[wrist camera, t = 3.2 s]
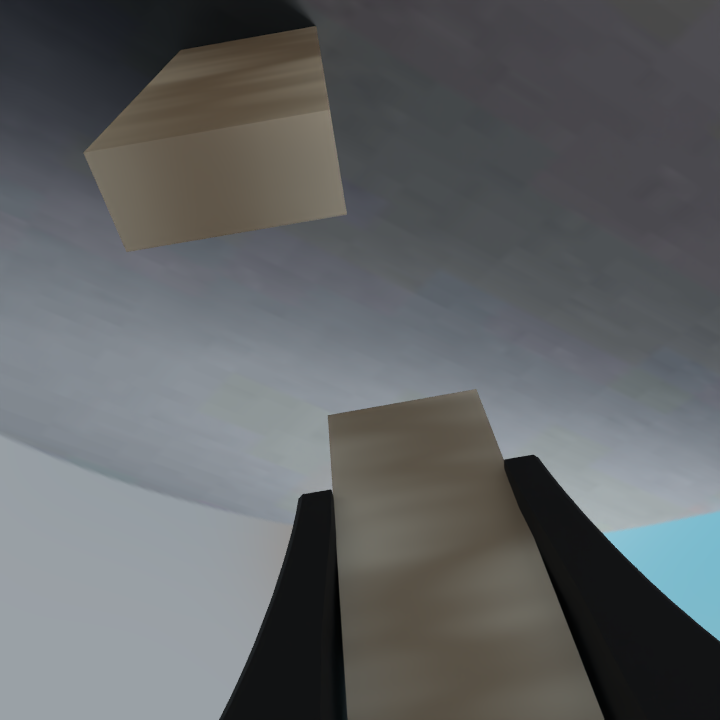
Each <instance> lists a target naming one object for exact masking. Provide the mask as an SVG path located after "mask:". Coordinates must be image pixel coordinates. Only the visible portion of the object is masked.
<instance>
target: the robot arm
mask: <svg viewBox="0 0 720 720" xmlns="http://www.w3.org/2000/svg"><path fill="white" fill-rule="evenodd" d="M504 470H505V472H506V475H507V478H508V480H509V483H510V485H511V488H512V491H513V493H514V496H515V499H516V501H517V504H518V506H519V509H520V511H521V513H522V515H523V517H524V519H525V521H526V523H527V525H528V527H529V529H530V531H531V533H532V535H533V537H534V539H535V542H536V544H537V547H538V550H539V552H540V555H541V557H542V560H543V563H544V565H545V568H546V570H547V573H548V575H549V578H550V581H551V583H552V586H553V588H554V591H555V593H556V596H557V599H558V601H559V604H560V606H561V609H562V611H563V614H564V617H565V619H566V622H567V624H568V627H569V629H570V632H571V635H572V637H573V640H574V642H575V645H576V648H577V650H578V653H579V655H580V658H581V660H582V663H583V666H584V668H585V671H586V673H587V676H588V678H589V681H590V684H591V686H592V689H593V691H594V694H595V696H596V699H597V702H598V704H599V707H600V709H601V712H602V715H603V717H604V720H720V641H719V640H717V639H716V638H715V637H714V636H712V635H711V634H710V633H709V632H707V631H706V630H705V629H704V628H703V627H701V626H700V625H699V624H698V623H696V622H695V621H694V620H693V619H692V618H691V617H690V616H688V615H687V614H686V613H685V612H684V611H683V610H681V609H680V608H679V607H678V606H677V605H675V603H673V602H672V601H671V600H670V599H669V598H668V597H667V596H666V595H665V594H663V593H662V592H661V591H660V590H659V589H658V588H657V587H656V586H655V585H653V583H651V582H650V581H649V580H648V579H647V578H646V577H645V576H644V575H643V574H642V573H641V572H640V571H639V570H638V569H637V568H636V567H635V566H634V565H633V564H632V563H631V562H630V561H629V560H628V559H627V558H626V557H625V556H624V555H623V554H622V553H621V552H620V551H619V550H618V549H617V548H615V546H614V545H613V544H612V543H611V542H610V541H609V540H608V539H607V538H606V537H605V536H604V535H603V533H602V532H601V531H600V530H599V529H598V528H597V527H596V526H595V525H594V524H593V523H592V522H591V521H590V520H589V518H588V517H587V516H586V515H585V514H584V513H583V512H582V511H581V510H580V508H579V507H578V506H577V505H576V504H575V503H574V501H573V500H572V499H571V498H570V497H569V496H568V494H567V493H566V492H565V491H564V490H563V489H562V487H561V486H560V485H559V484H558V482H557V481H556V480H555V479H554V477H553V476H552V475H551V474H550V472H549V471H548V470H547V469H546V467H545V466H544V465H543V463H542V462H541V461H540V459H539V458H538V457H536V456H535V455H529V456H523V457H517V458H511V459H505V460H504ZM219 720H348V717H347V702H346V686H345V671H344V656H343V640H342V625H341V609H340V594H339V578H338V563H337V547H336V525H335V509H334V497H333V494H332V490H326V491H320V492H314V493H308V494H303V495H302V496H301V497H300V498H299V499H298V505H297V511H296V516H295V520H294V525H293V529H292V534H291V537H290V541H289V544H288V548H287V551H286V555H285V558H284V562H283V565H282V568H281V571H280V575H279V577H278V580H277V584H276V587H275V590H274V593H273V596H272V598H271V602H270V604H269V607H268V609H267V612H266V615H265V617H264V620H263V623H262V625H261V628H260V630H259V633H258V636H257V638H256V641H255V643H254V646H253V648H252V651H251V653H250V655H249V657H248V660H247V662H246V665H245V667H244V669H243V671H242V673H241V676H240V678H239V680H238V682H237V684H236V686H235V689H234V691H233V693H232V695H231V697H230V699H229V701H228V703H227V705H226V707H225V709H224V711H223V713H222V715H221V717H220V719H219Z"/></svg>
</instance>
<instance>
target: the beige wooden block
mask: <svg viewBox="0 0 720 720" xmlns="http://www.w3.org/2000/svg"><path fill="white" fill-rule="evenodd" d="M84 155H85V157H86V160H87V162H88V164H89V166H90V169H91V171H92V173H93V176H94V178H95V180H96V183H97V185H98V187H99V189H100V192H101V194H102V196H103V199H104V201H105V203H106V206H107V208H108V210H109V212H110V215H111V217H112V219H113V222H114V224H115V226H116V228H117V231H118V233H119V235H120V238H121V240H122V242H123V245H124V247H125V249H126V251H127V252H129V251H135V250H141V249H147V248H153V247H159V246H165V245H170V244H176V243H182V242H188V241H194V240H200V239H206V238H211V237H217V236H223V235H229V234H235V233H241V232H247V231H253V230H258V229H264V228H270V227H276V226H282V225H288V224H294V223H299V222H305V221H311V220H317V219H323V218H329V217H335V216H341V215H346V214H347V213H346V206H345V200H344V194H343V188H342V182H341V176H340V170H339V163H338V157H337V151H336V145H335V139H334V133H333V127H332V120H331V114H330V108H329V102H328V96H327V90H326V84H325V78H324V72H323V66H322V60H321V54H320V47H319V41H318V35H317V29H316V26H313V27H308V28H302V29H296V30H291V31H285V32H280V33H274V34H268V35H263V36H257V37H251V38H246V39H240V40H234V41H229V42H223V43H217V44H212V45H206V46H201V47H195V48H189V49H184V50H180V51H179V52H178V53H177V54H176V55H175V57H174V58H173V59H172V60H171V61H170V62H169V63H168V64H167V65H166V66H165V67H164V68H163V69H162V70H161V71H160V72H159V73H158V74H157V76H156V77H155V78H154V79H153V80H152V81H151V82H150V83H149V84H148V85H147V86H146V87H145V88H144V89H143V90H142V91H141V92H140V93H139V95H138V96H137V97H136V98H135V99H134V100H133V101H132V102H131V103H130V104H129V105H128V106H127V107H126V108H125V109H124V110H123V111H122V112H121V114H120V115H119V116H118V117H117V118H116V119H115V120H114V121H113V122H112V123H111V124H110V125H109V126H108V127H107V128H106V129H105V130H104V131H103V133H102V134H101V135H100V136H99V137H98V138H97V139H96V140H95V141H94V142H93V143H92V144H91V145H90V146H89V147H88V148H87V149H86V150H85V152H84Z"/></svg>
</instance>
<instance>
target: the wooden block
mask: <svg viewBox="0 0 720 720" xmlns="http://www.w3.org/2000/svg"><path fill="white" fill-rule="evenodd" d="M328 424H329V439H330V455H331V470H332V486H333V497H334V509H335V525H336V547H337V563H338V578H339V594H340V609H341V625H342V640H343V656H344V671H345V686H346V702H347V717H348V720H604V717H603V715H602V712H601V709H600V707H599V704H598V702H597V699H596V696H595V694H594V691H593V689H592V686H591V684H590V681H589V678H588V676H587V673H586V671H585V668H584V666H583V663H582V660H581V658H580V655H579V653H578V650H577V648H576V645H575V642H574V640H573V637H572V635H571V632H570V629H569V627H568V624H567V622H566V619H565V617H564V614H563V611H562V609H561V606H560V604H559V601H558V599H557V596H556V593H555V591H554V588H553V586H552V583H551V581H550V578H549V575H548V573H547V570H546V568H545V565H544V563H543V560H542V557H541V555H540V552H539V550H538V547H537V544H536V542H535V539H534V537H533V535H532V533H531V531H530V529H529V527H528V525H527V523H526V521H525V519H524V517H523V515H522V513H521V511H520V509H519V506H518V504H517V501H516V499H515V496H514V493H513V491H512V488H511V485H510V483H509V480H508V478H507V475H506V472H505V470H504V459H503V457H502V454H501V452H500V449H499V447H498V444H497V441H496V439H495V436H494V434H493V431H492V429H491V426H490V423H489V421H488V418H487V416H486V413H485V411H484V408H483V405H482V403H481V400H480V398H479V395H478V392H477V390H476V389H474V390H469V391H463V392H457V393H452V394H446V395H440V396H435V397H429V398H423V399H418V400H412V401H406V402H401V403H395V404H389V405H384V406H378V407H372V408H367V409H361V410H355V411H350V412H344V413H339V414H333V415H328Z"/></svg>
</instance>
